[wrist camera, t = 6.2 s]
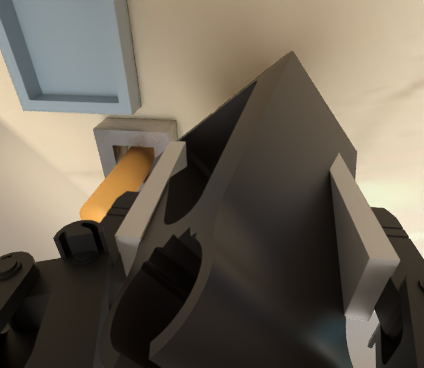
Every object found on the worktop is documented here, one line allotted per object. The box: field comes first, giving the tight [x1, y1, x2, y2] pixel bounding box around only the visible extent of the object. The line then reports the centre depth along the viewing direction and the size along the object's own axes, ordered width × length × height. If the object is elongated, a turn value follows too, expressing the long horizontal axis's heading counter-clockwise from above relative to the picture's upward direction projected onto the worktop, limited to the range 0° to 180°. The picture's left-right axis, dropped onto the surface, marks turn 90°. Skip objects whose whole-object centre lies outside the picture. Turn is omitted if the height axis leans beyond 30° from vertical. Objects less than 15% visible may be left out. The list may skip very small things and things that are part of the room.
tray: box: [0, 0, 141, 115], centre depth 23 cm, size 14×10×2 cm
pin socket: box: [93, 118, 177, 192], centre depth 28 cm, size 7×7×3 cm
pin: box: [80, 146, 155, 223], centre depth 25 cm, size 3×3×11 cm
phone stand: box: [99, 51, 357, 368], centre depth 10 cm, size 9×6×12 cm, turn 130°
